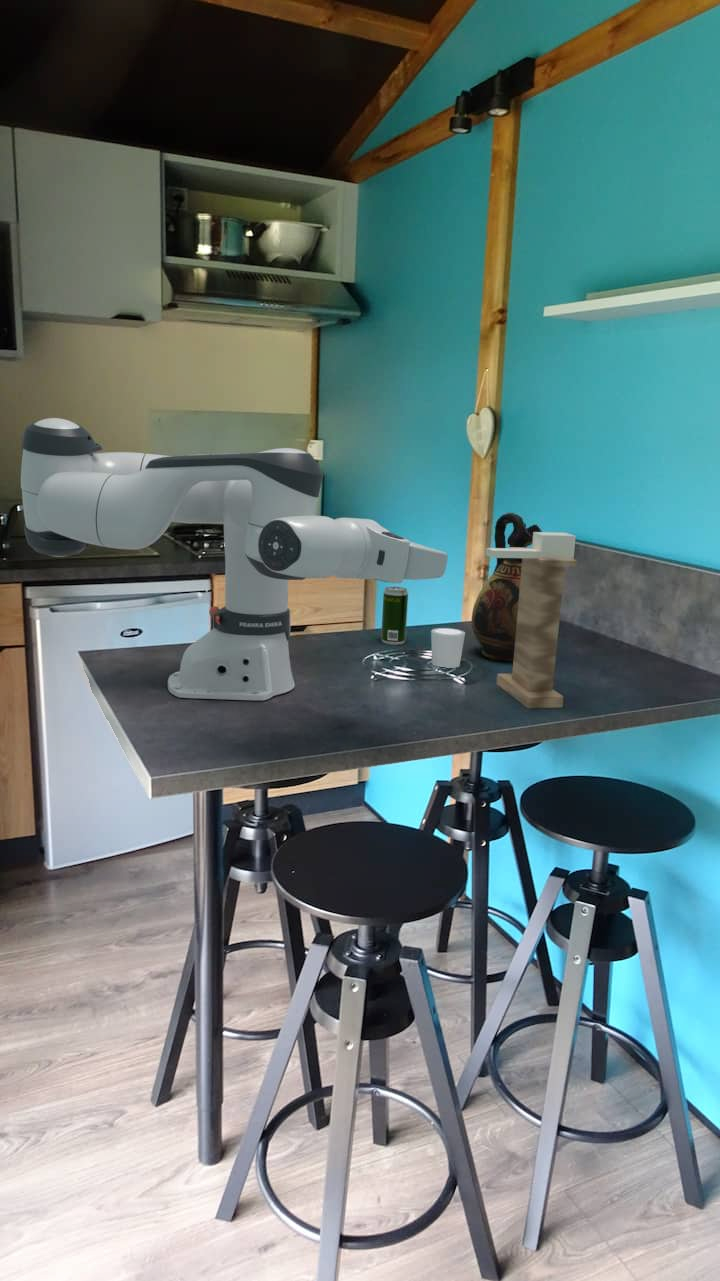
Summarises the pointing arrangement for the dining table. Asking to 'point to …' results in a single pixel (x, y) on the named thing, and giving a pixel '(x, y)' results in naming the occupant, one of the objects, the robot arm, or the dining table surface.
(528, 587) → the wooden post with base
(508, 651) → the ceramic jug
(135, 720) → the dining table surface
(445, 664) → the white cylinder
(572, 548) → the white block with handle
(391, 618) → the beer can
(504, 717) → the dining table surface
